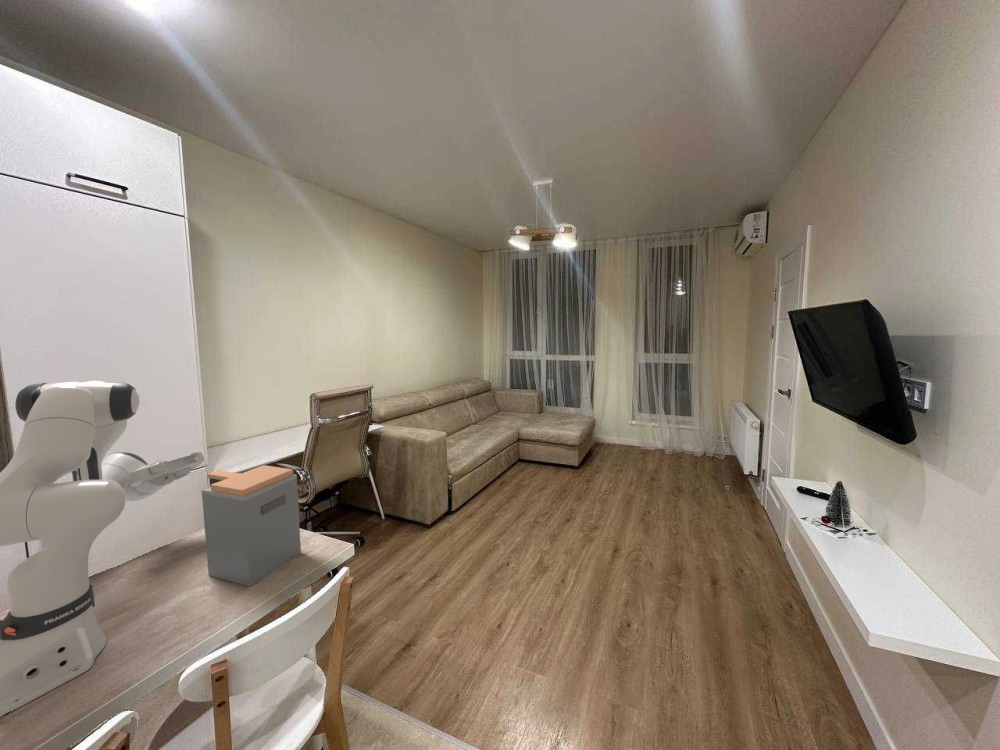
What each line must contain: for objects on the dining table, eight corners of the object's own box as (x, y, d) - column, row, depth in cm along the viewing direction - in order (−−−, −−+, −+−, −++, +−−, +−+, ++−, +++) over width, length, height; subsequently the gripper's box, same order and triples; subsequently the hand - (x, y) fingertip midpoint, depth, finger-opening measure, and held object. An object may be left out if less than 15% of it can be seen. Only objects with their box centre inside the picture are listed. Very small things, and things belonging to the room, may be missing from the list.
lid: (242, 496, 106) (242, 490, 106) (183, 485, 113) (183, 480, 113) (293, 474, 122) (292, 469, 122) (238, 466, 129) (238, 461, 129)
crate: (251, 586, 108) (245, 497, 105) (208, 575, 113) (201, 490, 110) (301, 552, 125) (297, 474, 122) (262, 543, 130) (258, 469, 127)
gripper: (114, 477, 119) (139, 460, 115) (185, 457, 138) (208, 441, 134) (123, 496, 119) (148, 479, 114) (193, 472, 138) (216, 457, 134)
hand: (181, 458), depth 124 cm, fingers open, 8 cm apart
